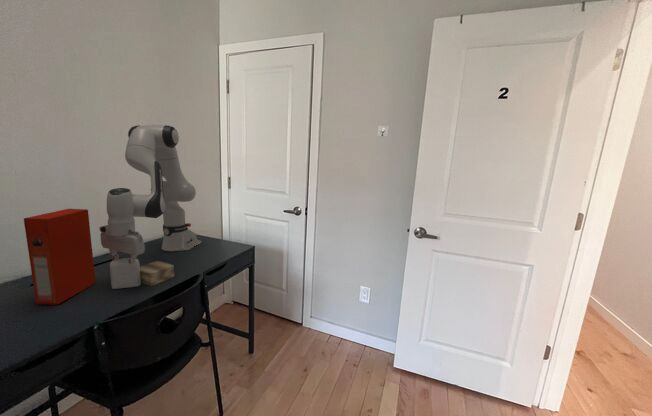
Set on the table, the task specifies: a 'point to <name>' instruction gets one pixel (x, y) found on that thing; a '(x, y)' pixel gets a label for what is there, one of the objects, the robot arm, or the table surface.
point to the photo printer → (124, 273)
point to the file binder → (60, 254)
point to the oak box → (156, 272)
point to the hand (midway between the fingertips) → (123, 261)
